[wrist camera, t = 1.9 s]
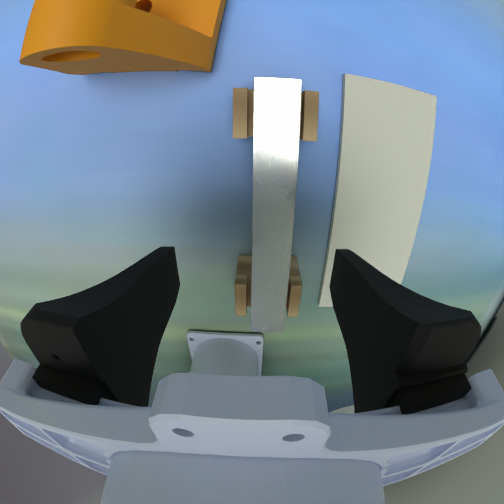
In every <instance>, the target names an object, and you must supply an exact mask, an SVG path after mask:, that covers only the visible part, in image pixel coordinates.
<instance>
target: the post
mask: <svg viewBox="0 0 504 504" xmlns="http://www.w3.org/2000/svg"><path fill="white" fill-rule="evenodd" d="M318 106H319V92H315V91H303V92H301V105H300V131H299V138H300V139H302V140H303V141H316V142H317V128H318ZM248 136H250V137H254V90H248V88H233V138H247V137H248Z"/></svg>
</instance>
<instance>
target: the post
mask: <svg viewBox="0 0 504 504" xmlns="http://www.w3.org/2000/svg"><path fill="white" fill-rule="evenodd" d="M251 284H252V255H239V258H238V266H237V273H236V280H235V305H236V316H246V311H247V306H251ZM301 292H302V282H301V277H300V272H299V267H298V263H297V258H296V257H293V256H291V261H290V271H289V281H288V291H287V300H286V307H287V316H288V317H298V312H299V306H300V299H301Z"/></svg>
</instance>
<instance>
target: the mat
mask: <svg viewBox="0 0 504 504" xmlns="http://www.w3.org/2000/svg"><path fill="white" fill-rule="evenodd" d="M436 99H437V96H434V95H431V94H428V93H425V92H421V91H418V90H415V89H411V88H408V87H404V86H401V85H397V84H393V83H389V82H385V81H381V80H376V79H372V78H367V77H362V76H356V75H351V74H343V90H342V114H341V131H340V144H339V157H338V168H337V178H336V187H335V196H334V204H333V212H332V220H331V227H330V234H329V241H328V248H327V254H326V260H325V266H324V272H323V278H322V284H321V289H320V294H319V300H318V305H319V307H333V304H332V299H331V294H330V288H329V285H330V280H331V274H332V269H333V263H334V257H335V250H336V249H349V250H351V251H353V252H354V253H356V254H357V255H358V256H360V257H361V258H362V259H364V260H365V261H366V262H368V263H369V264H370V265H372V266H373V267H375V268H376V269H377V270H379V271H380V272H382V273H383V274H384V275H386V276H388V277H389V278H391V279H392V280H394V281H395V282H397V283H399V284H400V285H401V282H402V279H403V276H404V273H405V270H406V267H407V264H408V260H409V257H410V254H411V250H412V247H413V243H414V239H415V236H416V232H417V228H418V224H419V219H420V215H421V211H422V206H423V201H424V197H425V192H426V186H427V181H428V175H429V169H430V162H431V155H432V147H433V139H434V129H435V116H436Z"/></svg>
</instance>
